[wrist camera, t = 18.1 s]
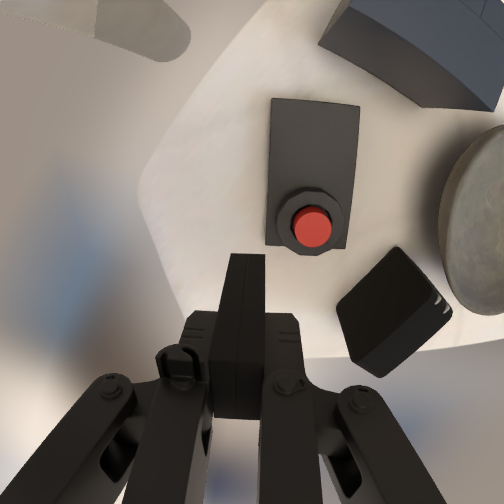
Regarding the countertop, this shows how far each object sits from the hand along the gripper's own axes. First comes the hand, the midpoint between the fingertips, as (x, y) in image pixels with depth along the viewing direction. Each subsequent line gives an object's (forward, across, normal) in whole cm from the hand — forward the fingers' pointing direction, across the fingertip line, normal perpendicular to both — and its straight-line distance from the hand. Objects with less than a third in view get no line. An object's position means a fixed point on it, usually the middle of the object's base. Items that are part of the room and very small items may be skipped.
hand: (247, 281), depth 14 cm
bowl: (+18, +27, 0) cm, 32 cm away
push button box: (+18, +5, +2) cm, 19 cm away
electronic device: (+18, +14, -10) cm, 25 cm away
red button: (+15, +5, -2) cm, 16 cm away
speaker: (+18, +13, +16) cm, 27 cm away
